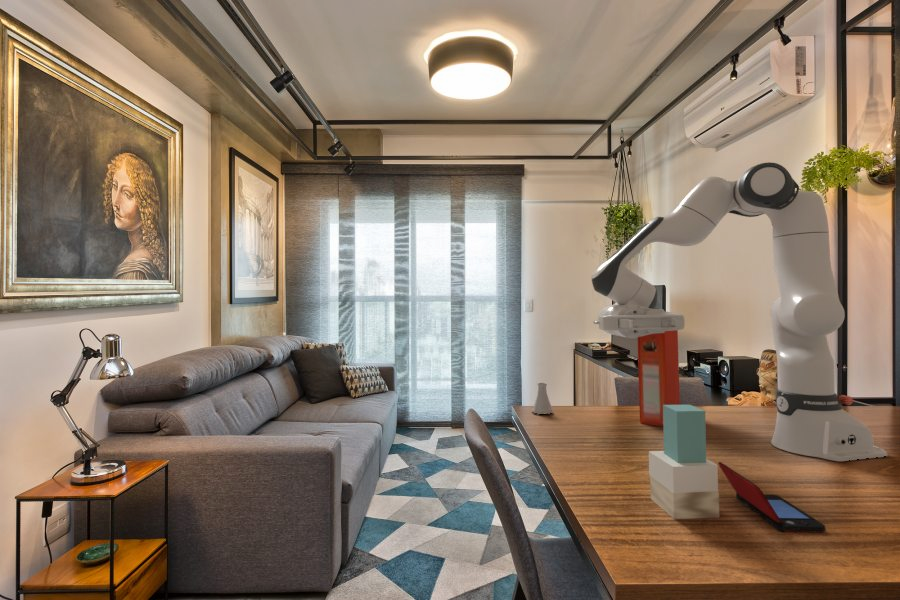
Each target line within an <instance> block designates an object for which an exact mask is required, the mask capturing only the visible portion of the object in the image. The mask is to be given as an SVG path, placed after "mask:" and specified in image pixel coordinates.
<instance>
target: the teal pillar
mask: <svg viewBox="0 0 900 600" xmlns="http://www.w3.org/2000/svg"><path fill="white" fill-rule="evenodd" d="M706 424H707V423H706V410H703V409H702V408H699V407H697V406H694V405H691V404H680V405H663V426H662V428H663V431H662V432H663V451H664V454H666V455H667V456H668V457H670V458H671V459H673V460H674V461H676V462H677V463H706V459H707V434H706V433H707V432H706V428H707V425H706Z"/></svg>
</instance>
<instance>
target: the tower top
mask: <svg viewBox="0 0 900 600" xmlns="http://www.w3.org/2000/svg"><path fill="white" fill-rule="evenodd" d="M718 469H719V464H717V463H715V462H713V461H711V460H709V459H707V458H706V463H677V462H676V461H674V460H673V459H671V458H670V457H668V456H667V455H666V454H664V450H653V451H652V450H651V451H648V475H649V477H650V476H651V477H652V478H654V479H655V480H656V481H658V482H659V483H660V484H662V485H663V486H664V487H666V488H667V489H669V490H670V491H671V492H673V493H690V492H710V491H718V492H719V474H718V473H719V471H718Z"/></svg>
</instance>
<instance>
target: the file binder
mask: <svg viewBox="0 0 900 600" xmlns="http://www.w3.org/2000/svg"><path fill="white" fill-rule="evenodd" d="M678 331H679V330H674V331H665V332H664V333H660V334H649V335H645V336H641V337H638V338H637V366H638V367H637V368H638V399H639V403H638V404H639V422H640V424H645V425H651V426H652V425H653V426H658V427H663V405H681V399H680V370H679V369H680V368H679V367H680V363H679V361H680V359H679V333H678Z"/></svg>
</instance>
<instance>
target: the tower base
mask: <svg viewBox="0 0 900 600" xmlns="http://www.w3.org/2000/svg"><path fill="white" fill-rule="evenodd" d="M649 477H650V478H649V480H650V483H649V486H650V499H651V500H652V501H653V502H654V503H655V504H656V505H657V506H658V507H659V508H661V509H662V510H663V511H665V512H666V513H667V514H668V515H669V516H670V517H671V518H672V519H673V520H677V519H678V520H680V519H682V520H683V519H709V518H712V519H713V518H720V492H719V490H718V491H710V492H690V493H673V492H671V491H670V490H669V489H667V488H666V487H664V486H663V485H662V484H660V483H659V482H658V481H656V480H655V479H654V478H652V477H651V476H649Z"/></svg>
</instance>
